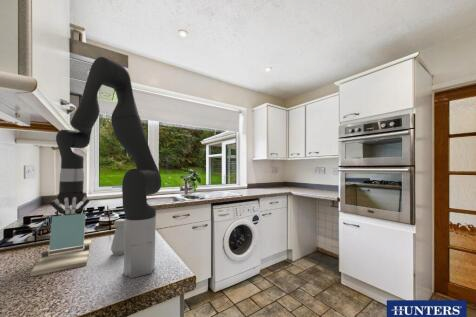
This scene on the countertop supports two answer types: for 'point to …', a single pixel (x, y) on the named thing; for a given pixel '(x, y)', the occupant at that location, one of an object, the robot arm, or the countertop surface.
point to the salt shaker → (118, 237)
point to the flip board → (62, 259)
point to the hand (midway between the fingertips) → (70, 223)
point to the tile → (67, 233)
